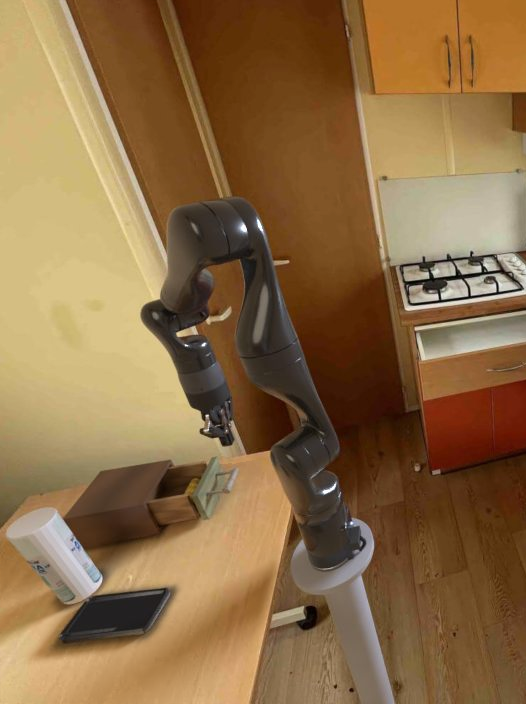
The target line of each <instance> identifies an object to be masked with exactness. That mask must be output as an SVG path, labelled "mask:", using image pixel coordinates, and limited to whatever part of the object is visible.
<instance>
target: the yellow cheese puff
mask: <svg viewBox="0 0 526 704" xmlns="http://www.w3.org/2000/svg"><path fill="white" fill-rule="evenodd" d="M200 480H201V479H199V478H195V479H193V480H191V482H190V484H189V486H188V487H187V489H186V491H185V493H184V494H188V495H189V497H190V499H191V501H192V503H194V501H193V499H192V495H193V493H194V491H195V489H196V487H197V486H198V484H199V482H200Z"/></svg>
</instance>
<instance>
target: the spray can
mask: <svg viewBox="0 0 526 704" xmlns="http://www.w3.org/2000/svg"><path fill="white" fill-rule="evenodd" d="M5 537H6V539H7V540H8V541H9V542H10V544H11V545H13V547H14V548H15V550H16V551H17V552H18V553H19V554H20V555H21V556H22V557H23V559H24V560H25V561H26V562H27V563H28V565H29V566H30V567H31V568H32V569H33V570H34V571H35V573H36V574H37V575H38V577H40V579H41V580H42V581H43V582H44V584H46V586H47V587H48V588H49V589H50V590H51V592H52V593H53V594H54V595H55V596H56V598H58V600H59V601H60V603H62V604H65V605H74V604H77V603H79V602H81V601H84V600H87V599H88V598H90V597H91V596H92V595H93V594H94V593H95V592H96V591H97V590H99V587H100V586H101V585H102V582H103V575H102V573H101V572H100V571H99V568H97V567H96V565H95V563H94V562H93V560H92V559H91V557H90V556H89V555H88V553H87V552H86V550H85V548H84V549H83V547H82V546H81V545H80V543H79V542H78V540H77V539H76V537H75V536H74V535H73V533H72V532H71V530H70V529H69V527H68V526H67V524H66V523H65V522H64V520H63V517H62V516H61V514H60V513H59V511H58V510H57V509H56V508H55V507H52V506H46V507H45V506H44V507H40V508H37V509H34V510H32V511H29V512H27V513H25V514H23V515H22V516H20V517H19V518H17V519H16V520H15V521H13V522H12V523H11V524H10V525H9V526H8V528H7V529H6V531H5Z"/></svg>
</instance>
